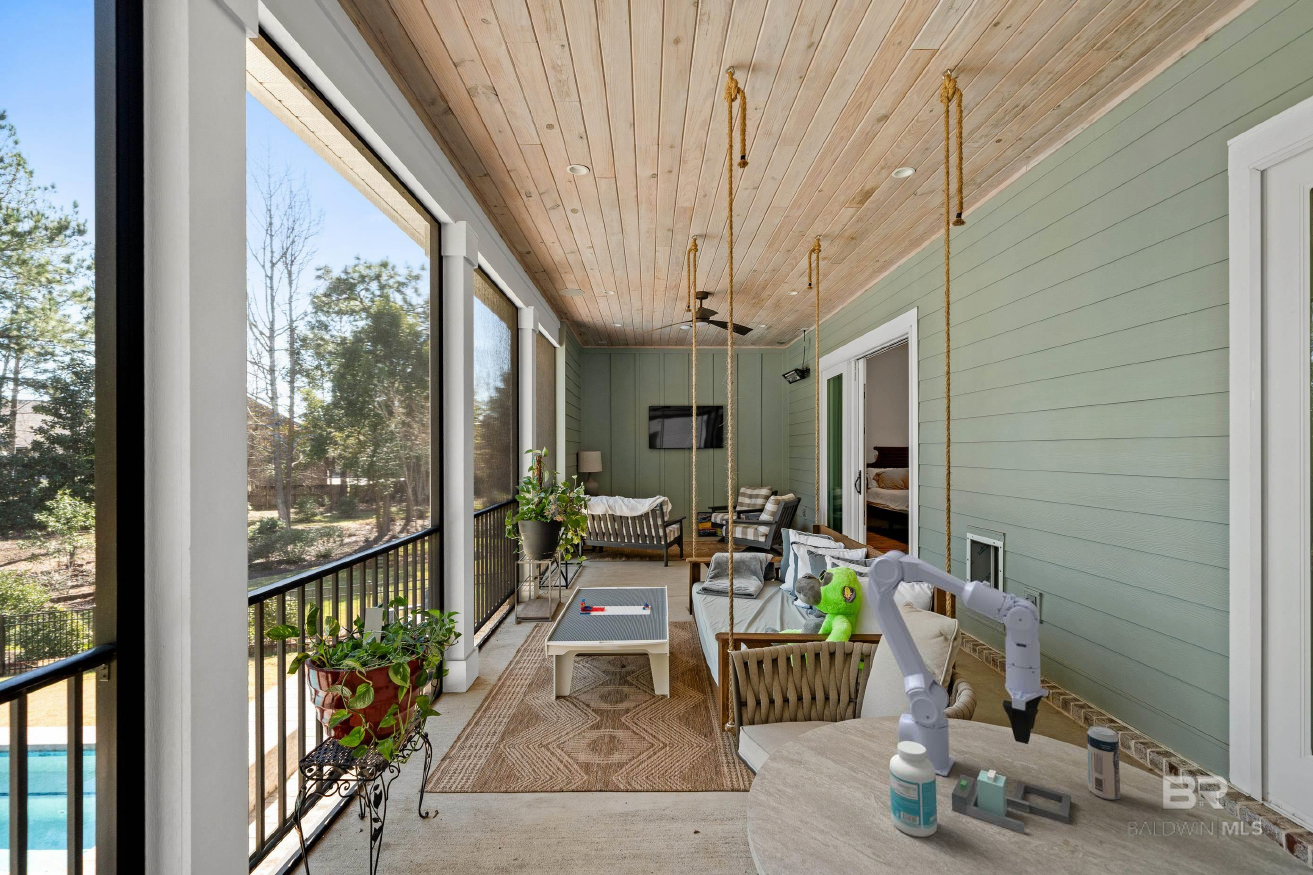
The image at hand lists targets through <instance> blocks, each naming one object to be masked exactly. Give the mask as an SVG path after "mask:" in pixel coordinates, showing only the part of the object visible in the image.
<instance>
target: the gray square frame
mask: <svg viewBox="0 0 1313 875" xmlns="http://www.w3.org/2000/svg"><path fill="white" fill-rule="evenodd" d="M1025 793H1029V794H1033V795H1036V796H1039V797H1043V798H1046V799H1049V800H1053V801H1057V802H1059V803H1061V805H1060V810H1056V809H1054V808H1050V807H1047V806H1043V805H1041V804H1037V803H1035V802H1030V801H1027V800H1023V799H1024V796H1025ZM1012 798H1015V799H1018V800H1021V801H1024V802H1028V803H1030V813H1031V814H1034V815H1037V816H1041V817H1043V818H1047V819H1050V820H1052V821H1057V822H1059V823H1064V824H1067V825H1069V819H1070V812H1071V806H1072V794H1067V793H1065V792H1060V791H1057V790H1053V789H1050V788H1047V787H1043V786H1041V785H1037V784H1033V783H1030V782H1026V781H1023V780H1019V779H1018V780H1017V784H1016V787H1015V791H1014V794H1013V797H1012Z"/></svg>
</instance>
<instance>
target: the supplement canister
mask: <svg viewBox="0 0 1313 875" xmlns="http://www.w3.org/2000/svg"><path fill="white" fill-rule="evenodd" d="M1086 733H1087V734H1086V735H1087V770H1088V771H1087V773H1088V790H1089V791H1090V792H1091V793H1092V794H1094V795H1095V796H1097V797H1098V798H1101V799H1103V800H1104V799H1105V800H1109V801H1110V800H1111V801H1113V800H1114V801H1115V800H1118V799H1120V798H1121V779H1120V778H1121V777H1120V776H1121V774H1120V746H1119V745H1120V743H1119V742H1120V740H1119V737H1118V735H1117V732H1116V731H1114V730H1113V729H1111V728H1110V727H1109V728H1108V727H1105V726H1100V725H1091V726H1090V727H1089V730H1087V731H1086Z"/></svg>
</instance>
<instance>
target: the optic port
mask: <svg viewBox="0 0 1313 875" xmlns="http://www.w3.org/2000/svg"><path fill="white" fill-rule="evenodd" d="M1006 797H1007V808H1010V809H1014V810H1017V811H1020V812H1023V813H1025V814H1030V813H1031V812H1030V803H1028V802H1029V801H1028V802H1024V801H1025V800H1024V801H1021V800H1018V799H1015V798H1013V797H1011V796H1009V795H1006ZM951 810H952V811H954V812H957V813H960V814H964V815H966V816H969V817H972V818H975V819H978V820H980V821H983V822H987V823H990V824H993V825H996V826H999V827H1002V828H1004V829H1007V830H1010V831H1014V832H1017V833H1019V834H1022V835H1024V834H1025V822H1023V821H1020V820H1016V819H1013V818H1011V817H1008V816H1006V815H1005V816H1002V815H999V814H996V813H992V812H989V811H986V810H983V809H980V808H978V792H977V786H976V778H975V777H971V776H968V775H965V774H962V773H961V774H960V776H959V778H958V780H957V782H956V784H955V786H954V788H953V790H952V792H951Z"/></svg>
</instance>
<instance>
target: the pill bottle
mask: <svg viewBox="0 0 1313 875" xmlns="http://www.w3.org/2000/svg"><path fill="white" fill-rule="evenodd" d="M896 748H897V754H895V755H893V756H892V757H891V758H890V761H889V785H890V786H889V787H890V788H889V789H890V790H889V791H890V792H889V793H890V817H891V821H892V823H893V825H894V827H896V828H897V829H898V830H899V831H901V832H902V833H905V834H907V835H909V836H914V837H920V838H925V837H930V836H931V835H933V834H935V833H936V831H937V829H938V816H937V815H938V809H937V808H938V806H937V780H936V776H937V775H936V773H935V768H934V766H933V764H932V763H931V762H930V761H929V760H928V759H926V757H927V754H926V748H925V747H924V746H923V745H921V744H919V743H916V742H911V741H903V742H900V743H899V742H898V743H897V747H896Z"/></svg>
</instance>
